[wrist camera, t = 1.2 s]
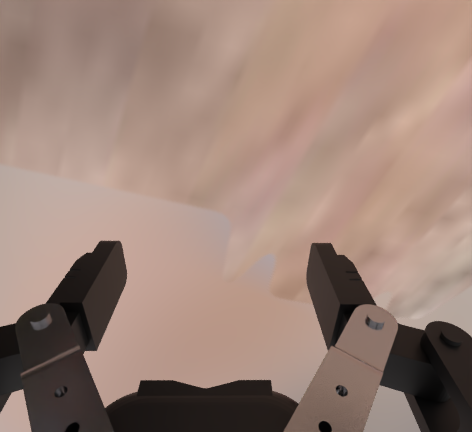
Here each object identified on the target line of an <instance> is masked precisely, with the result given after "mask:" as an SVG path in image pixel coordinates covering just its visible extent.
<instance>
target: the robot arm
mask: <svg viewBox="0 0 472 432" xmlns="http://www.w3.org/2000/svg"><path fill="white" fill-rule="evenodd" d="M126 279H127V270H126V264H125V259H124V254H123V248H122V244H121V242H120V241H100V242H99V243H98V245H97V246H96V248H95V249H94V251H93V252H92V253H86V254H84V255H83V256H82V257H80V258H79V259H78V260H76V262H75V263H74V264H73V266H72V267H71V269H70V271H69V272H68V273H67V274H66V276H65V278H64V279H63V280H62V281H61V283H60V284H59V286H58V287H57V288H56V290H55V291H54V293H53V294H52V295H51V297H50V298H49V300H48V301H47V302H46V304H42V305H39V306H36V307H34V308H32V309H30V310H28V311H27V312H26V313H24V314H23V315H22V316H21V317H20V318H19V319H18V321H17V323H15V324H11V325H7V326H2V327H0V412H1V411H2V409H3V407H4V405H5V403H6V402H7V400H8V398H9V396H10V395H11V393H12V392H14V391H18V390H22V389H23V390H24V395H25V400H26V405H27V410H28V415H29V421H30V426H31V431H32V432H363V430H364V427H365V424H366V422H367V419H368V416H369V413H370V410H371V407H372V404H373V401H374V398H375V396H376V393H377V390H378V387H379V385H381V386H385V387H388V388H391V389H395V390H398V391H402V392H404V394H405V396H406V398H407V401H408V403H409V405H410V408H411V410H412V412H413V415H414V417H415V419H416V421H417V424H418V426H419V428H420V431H421V432H472V337H471V336H470V335H469V334H468V333H466V332H465V331H463V330H462V329H461V328H459V327H457V326H455V325H453V324H450V323H446V322H441V321H435V322H431V323H429V324H428V325H427V326H426V328H425V330H420V329H416V328H412V327H408V326H405V325H401V324H399V323H397V321H396V319H395V318H394V316H393V315H392V314H391V313H389V312H388V311H387V310H385V309H383V308H381V307H378V306H377V305H376V303H375V302H374V300H373V298H372V296H371V294H370V293H369V291H368V289H367V287H366V285H365V284H364V282H363V281H362V278H361V277H360V275H359V273H358V271H357V269H356V268H355V266H354V264H353V262H351V261H350V260H349V259H348V258H347V257H345V256H344V255H337V254H336V252H335V250H334V248H333V246H332V244H331V243H312V245H311V249H310V255H309V261H308V267H307V286H308V289H309V292H310V296H311V299H312V302H313V305H314V308H315V311H316V314H317V318H318V321H319V324H320V327H321V330H322V333H323V336H324V340H325V343H326V346H327V349H328V353H327V354H326V356H325V358H324V360H323V362H322V363H321V365H320V367H319V369H318V370H317V372H316V374H315V376H314V378H313V380H312V381H311V383H310V385H309V387H308V388H307V390H306V392H305V394H304V396H303V398H302V399H301V401H300V403H299V404H298V403H297V402H295V401H294V400H292V399H291V398H289V397H287V396H285V395H283V394H280V393H278V392H274V391H272V386H271V380H238V381H234V382H231V383H227V384H223V385H219V386H215V387H211V388H207V389H206V388H200V387H196V386H192V385H188V384H184V383H181V382H177V381H173V380H172V381H171V380H167V381H165V380H163V381H161V380H157V381H152V380H148V381H147V380H146V381H140V385H139V389H138V392H135V393H132V394H129V395H126V396H124V397H122V398H120V399H118V400H116V401H115V402H113V403H112V404H110V405H108V406H107V407H106V408H104V405H103V403H102V400H101V398H100V395H99V393H98V390H97V388H96V385H95V383H94V381H93V378H92V376H91V373H90V371H89V368H88V366H87V363H86V361H85V358H84V356H83V354H84V352H85V351H97V349H98V346H99V344H100V342H101V339H102V337H103V335H104V333H105V330H106V328H107V325H108V323H109V321H110V319H111V316H112V314H113V312H114V309H115V307H116V305H117V303H118V300H119V298H120V296H121V293H122V291H123V289H124V287H125V284H126Z"/></svg>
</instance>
